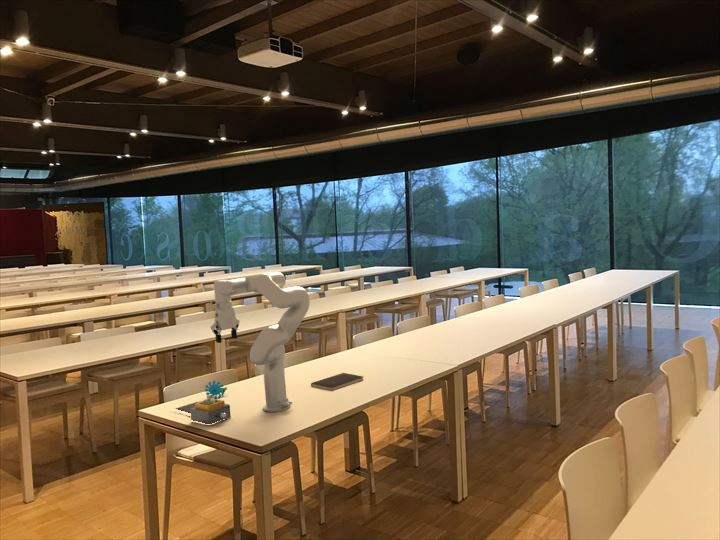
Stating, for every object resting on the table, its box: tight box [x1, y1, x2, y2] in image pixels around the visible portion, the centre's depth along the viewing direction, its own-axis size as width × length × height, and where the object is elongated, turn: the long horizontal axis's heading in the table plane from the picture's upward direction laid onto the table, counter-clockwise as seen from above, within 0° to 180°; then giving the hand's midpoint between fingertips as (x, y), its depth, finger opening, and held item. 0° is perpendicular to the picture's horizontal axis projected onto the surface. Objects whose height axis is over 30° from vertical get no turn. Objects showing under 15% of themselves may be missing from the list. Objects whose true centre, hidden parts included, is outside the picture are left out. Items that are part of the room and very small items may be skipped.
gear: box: [204, 380, 228, 399], centre depth 292 cm, size 11×6×10 cm
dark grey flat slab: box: [175, 401, 200, 413], centre depth 271 cm, size 20×2×15 cm
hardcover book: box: [310, 372, 364, 391], centre depth 301 cm, size 16×23×2 cm
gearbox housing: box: [190, 398, 232, 424], centre depth 253 cm, size 16×12×8 cm
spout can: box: [202, 394, 215, 406], centre depth 254 cm, size 5×5×11 cm
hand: (226, 340), depth 278 cm, fingers open, 9 cm apart
